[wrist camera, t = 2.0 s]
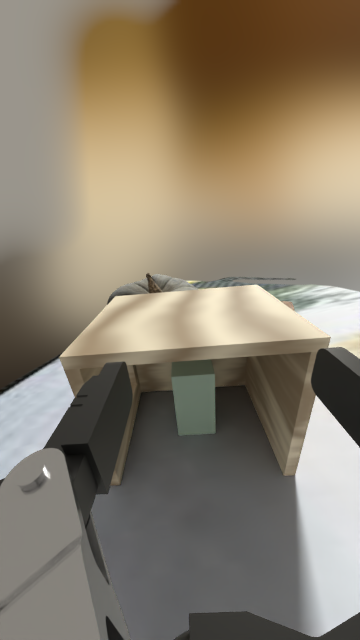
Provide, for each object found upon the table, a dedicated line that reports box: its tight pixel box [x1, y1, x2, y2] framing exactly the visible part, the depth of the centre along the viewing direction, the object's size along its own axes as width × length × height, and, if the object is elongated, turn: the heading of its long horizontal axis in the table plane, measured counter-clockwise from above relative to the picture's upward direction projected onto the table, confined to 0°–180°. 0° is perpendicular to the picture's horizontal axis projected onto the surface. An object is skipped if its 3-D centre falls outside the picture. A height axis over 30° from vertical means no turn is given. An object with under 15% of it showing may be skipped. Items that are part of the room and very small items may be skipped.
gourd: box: [107, 273, 199, 305], centre depth 48 cm, size 25×25×17 cm
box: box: [59, 285, 331, 486], centre depth 26 cm, size 20×15×17 cm
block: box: [171, 359, 216, 436], centre depth 27 cm, size 5×5×10 cm
